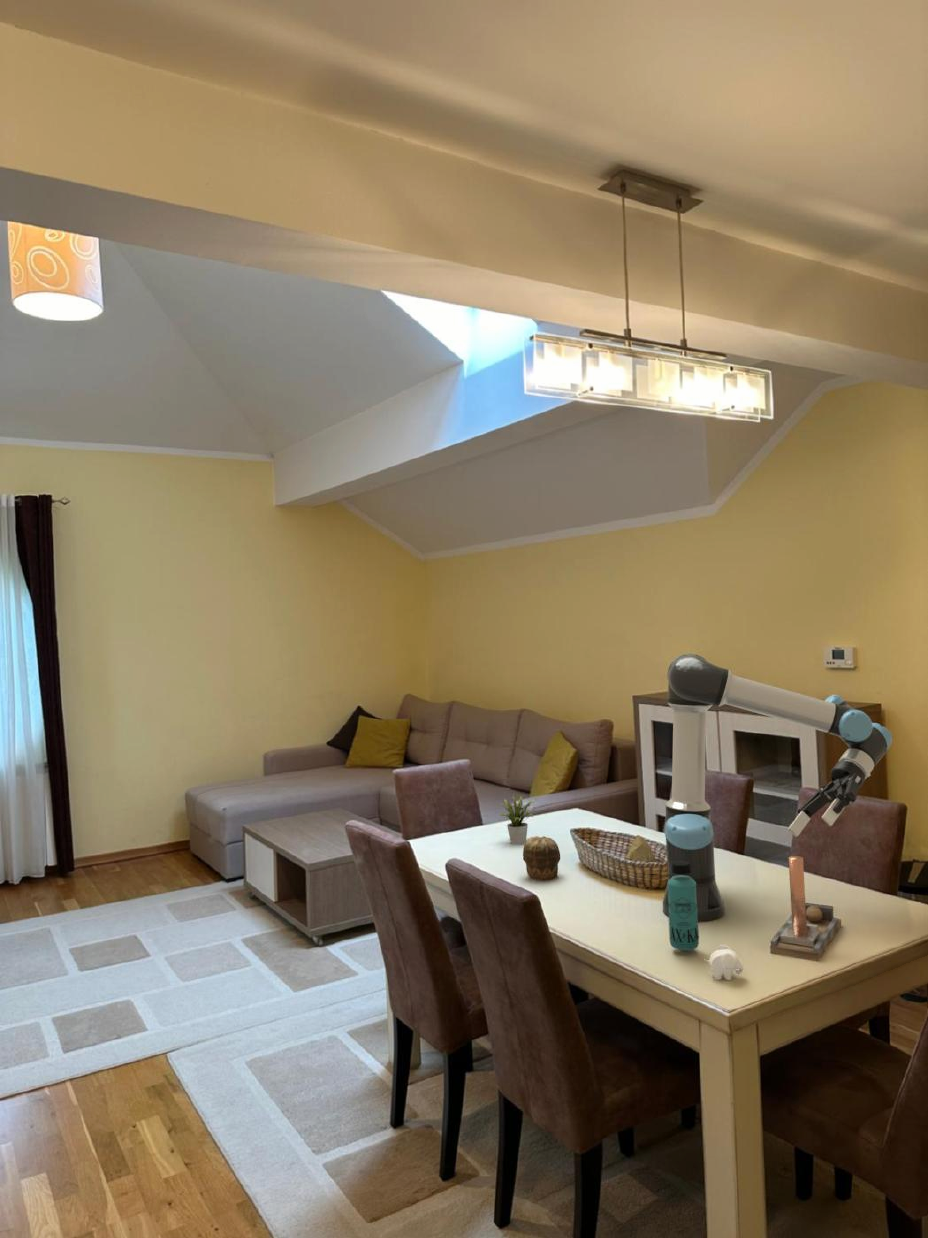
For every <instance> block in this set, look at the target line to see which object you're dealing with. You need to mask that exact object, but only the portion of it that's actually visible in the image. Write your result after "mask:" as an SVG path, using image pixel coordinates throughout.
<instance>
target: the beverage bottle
mask: <svg viewBox="0 0 928 1238" xmlns="http://www.w3.org/2000/svg"><path fill="white" fill-rule="evenodd" d="M672 873H675V874H689V873H691V869H690V864H689V863H688V862H685V861H676V862H673V863H672ZM667 884H668V901H669V908H668V909H669V914H668V915H667V918H668V931H669V937H668V938H669V943H670V946H671V947H672V948H674V949H676V950H681V951H693V950H695V949H697V948H698V947H699V944H700V934H699V933H700V931H699V921H698V917H697V909H698V908H697V899H696V882H695V881H694V880H693V879H692V878H691V877H689V876H684V875H677V876H673V877H672V878H671V879H670V880H669V881H667V883H666V885H667Z"/></svg>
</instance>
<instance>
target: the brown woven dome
mask: <svg viewBox="0 0 928 1238" xmlns="http://www.w3.org/2000/svg"><path fill="white" fill-rule="evenodd" d="M523 845H524V846H523V852H522V858H523V862H524V863H525V866H526V868H525V869H526V873H527V875H528V877H529V878H530V879H531V880H535V881H543V882H544V881H551V880H554V879H557V878H559V876H558V873H559V871H558V870H559V862H561V852H560V848H559V846H558V843H557V842H556V841H555V839H553V838H551V837H546V836H545V835H544V836H541V837H539V836H538V835H536V836H531V837H529V838H527V839H526V842H525V844H523Z"/></svg>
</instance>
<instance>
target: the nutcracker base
mask: <svg viewBox="0 0 928 1238" xmlns="http://www.w3.org/2000/svg"><path fill="white" fill-rule="evenodd" d="M805 903H806V921H807V924H812V925H818V932H820V939H819V940H818V942H817V943H816V945H815V946H814V947H809V946H803V945H797V944H791V943H785V942H781V941H780V935H781V934H782V933H783V931H784V930H785V929H786V928H787V922H788V921H792V914H791V915H790V917H788V919H787V920H786V921H785V923H784V924H783V925H782V926H781V927H780V929H778V931H777V932H776V933H775V934H774V936H773V937H772V938H771V939H770V940H769V941H770V942H769V943H770V946H769V951H770V954H775V955H780V956H781V955H782V956H786V957H792V958H796V959H797V958H798V959H803V960H810V961H816V962H819V961H820V960H821V958H822V956H823V955H824V953H825V952H826V950H827V948H828V947H829V945H831V942H832V941H833V939H834V937H835V936H836V934H837V933H838V931H839V930H840V929H841V927H842V919H841V918H839V917H835V916H834V906H833V905H825V904H820V903H819V904H818V903H811V902H805Z"/></svg>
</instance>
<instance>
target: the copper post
mask: <svg viewBox="0 0 928 1238" xmlns="http://www.w3.org/2000/svg"><path fill="white" fill-rule="evenodd" d="M788 868H789V869H788V872H789V890H790V906H791V915H792V921H788V922H787V928H786V929H785V930H784V931H783V933H782V934H781V935H780V941H781V942H785V943H791V944H797V945H803V946H809V947H814V946H815V945H816V943H817V942H818V940H819V939H820V932H818V925H812V924H807V921H806V903H807V902H806V891H805V890H806V889H805V872H804V871H805V870H804V857H802V856H800V855H790V856H789V857H788Z"/></svg>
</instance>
